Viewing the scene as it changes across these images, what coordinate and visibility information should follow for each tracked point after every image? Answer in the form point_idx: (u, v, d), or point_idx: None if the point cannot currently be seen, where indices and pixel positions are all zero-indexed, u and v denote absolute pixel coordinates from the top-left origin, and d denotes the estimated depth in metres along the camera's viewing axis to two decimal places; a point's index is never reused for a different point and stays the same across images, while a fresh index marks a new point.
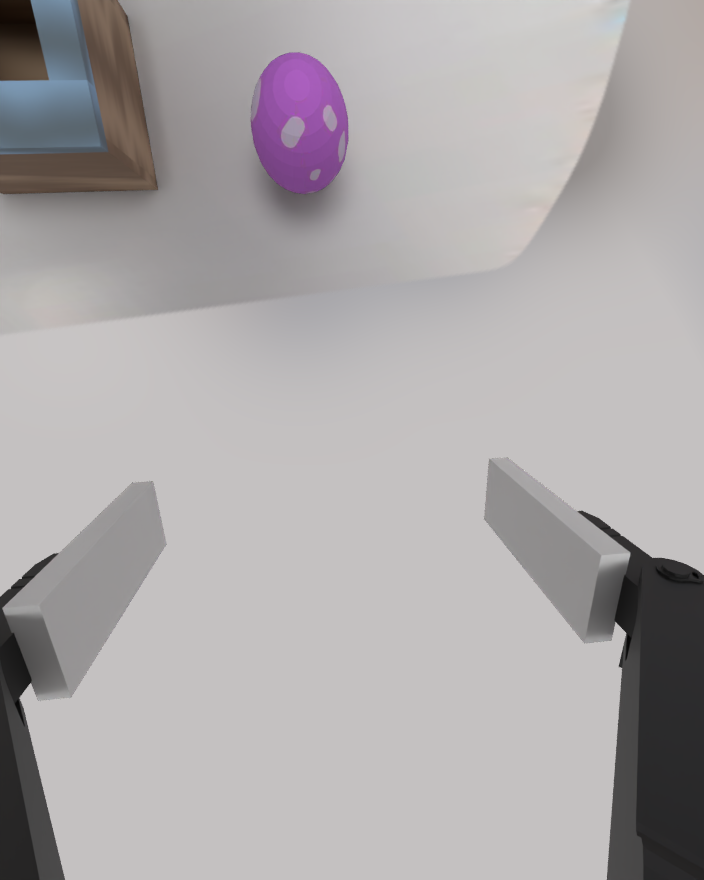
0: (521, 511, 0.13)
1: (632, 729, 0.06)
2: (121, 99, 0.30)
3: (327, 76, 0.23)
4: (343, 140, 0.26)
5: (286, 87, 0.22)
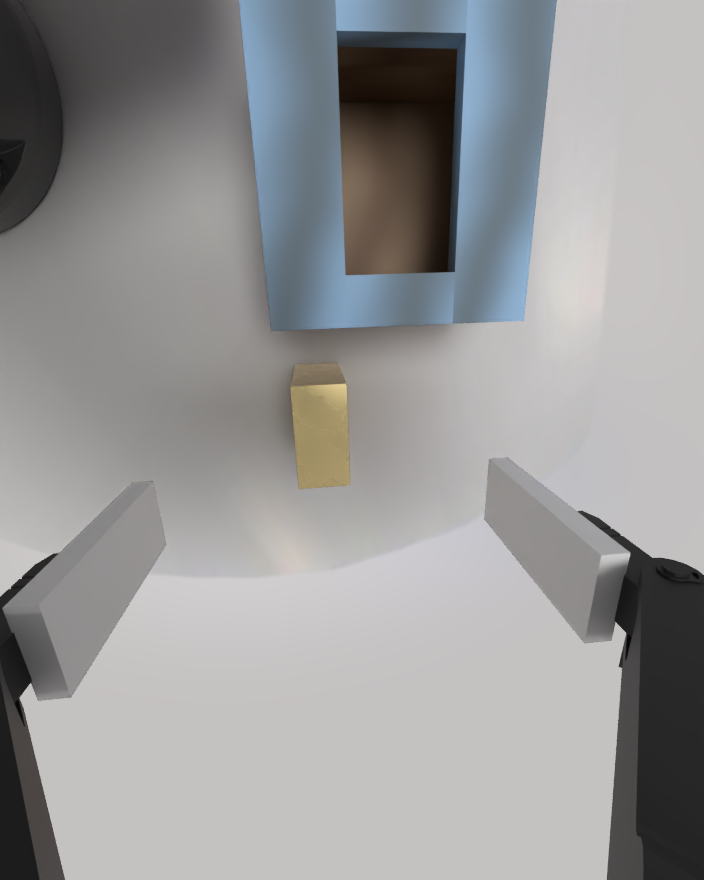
0: (521, 511, 0.13)
1: (632, 729, 0.06)
2: None
3: None
4: None
5: None
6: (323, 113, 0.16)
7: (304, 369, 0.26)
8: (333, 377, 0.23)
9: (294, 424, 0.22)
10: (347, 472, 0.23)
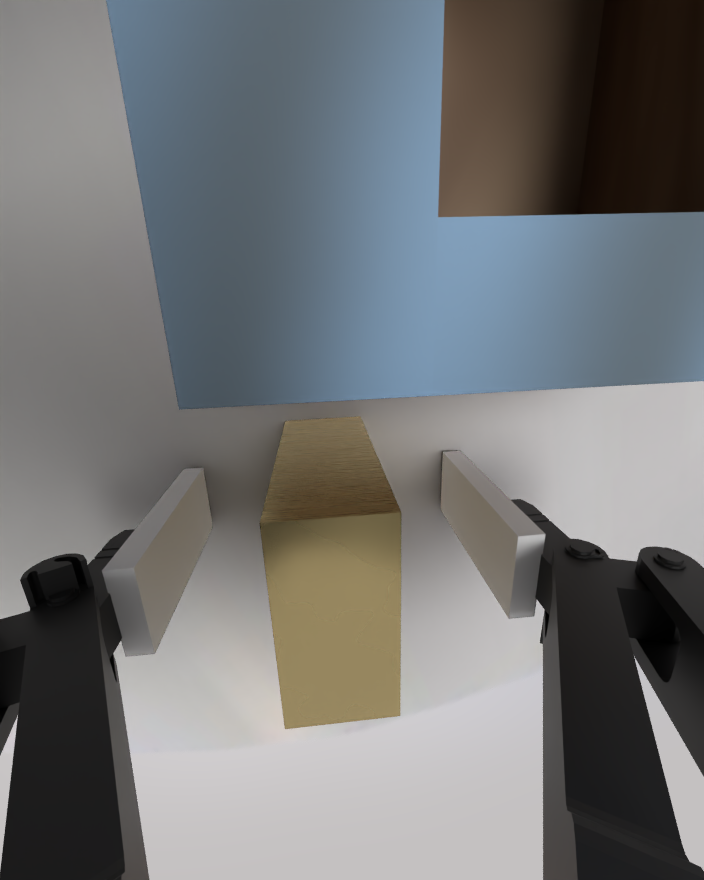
0: (465, 499, 0.14)
1: (556, 704, 0.07)
2: None
3: None
4: None
5: None
6: None
7: (300, 438, 0.14)
8: (362, 475, 0.10)
9: (272, 605, 0.09)
10: (395, 692, 0.10)
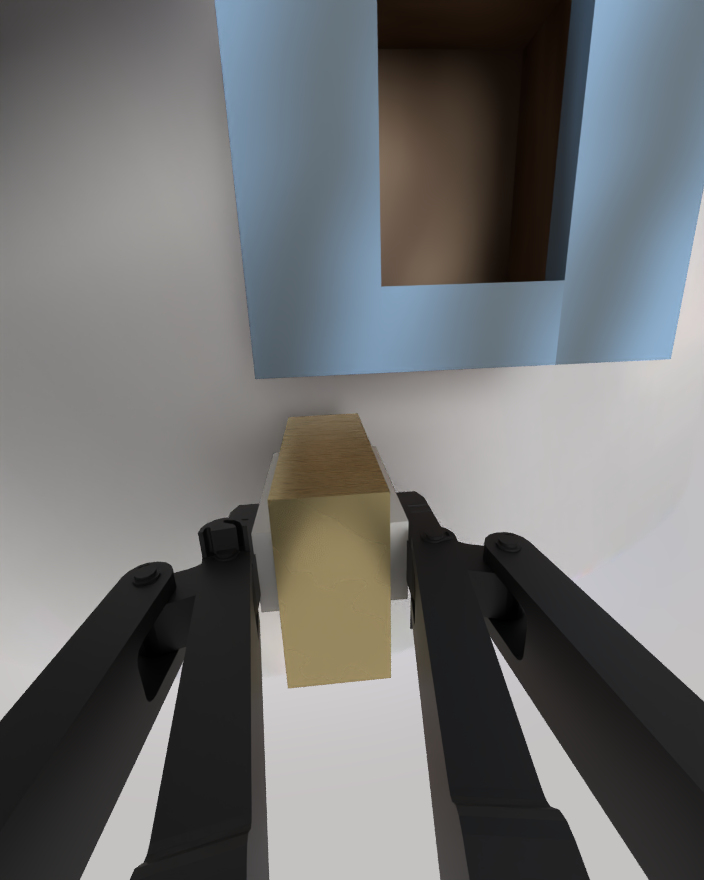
0: None
1: (430, 692, 0.07)
2: None
3: None
4: None
5: None
6: None
7: (302, 432, 0.15)
8: (358, 463, 0.12)
9: (278, 574, 0.10)
10: (386, 656, 0.11)
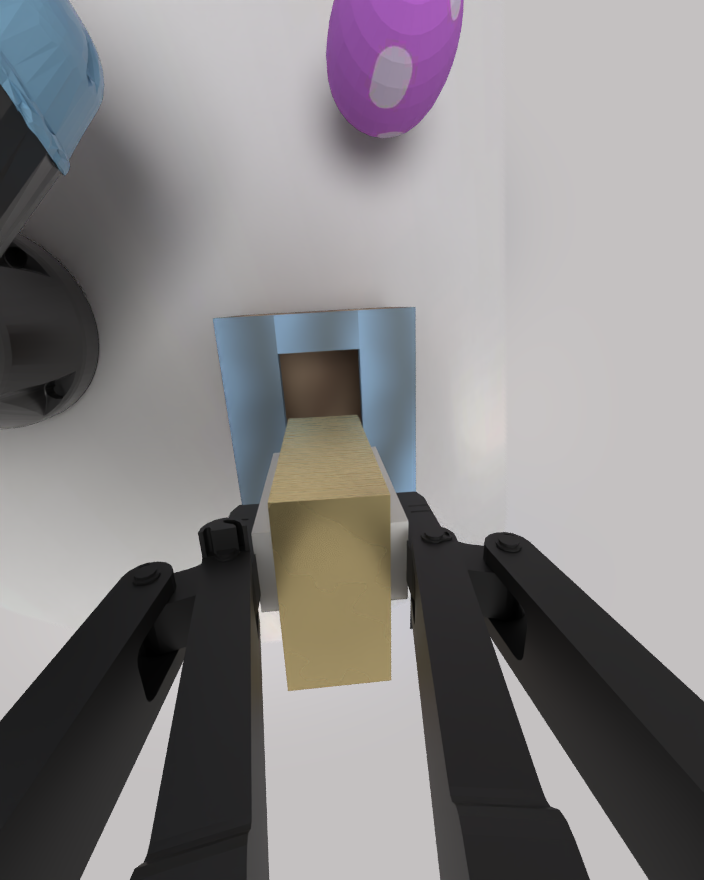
0: None
1: (430, 692, 0.07)
2: None
3: None
4: None
5: None
6: (272, 396, 0.25)
7: (302, 434, 0.15)
8: (358, 465, 0.12)
9: (278, 576, 0.10)
10: (386, 658, 0.11)
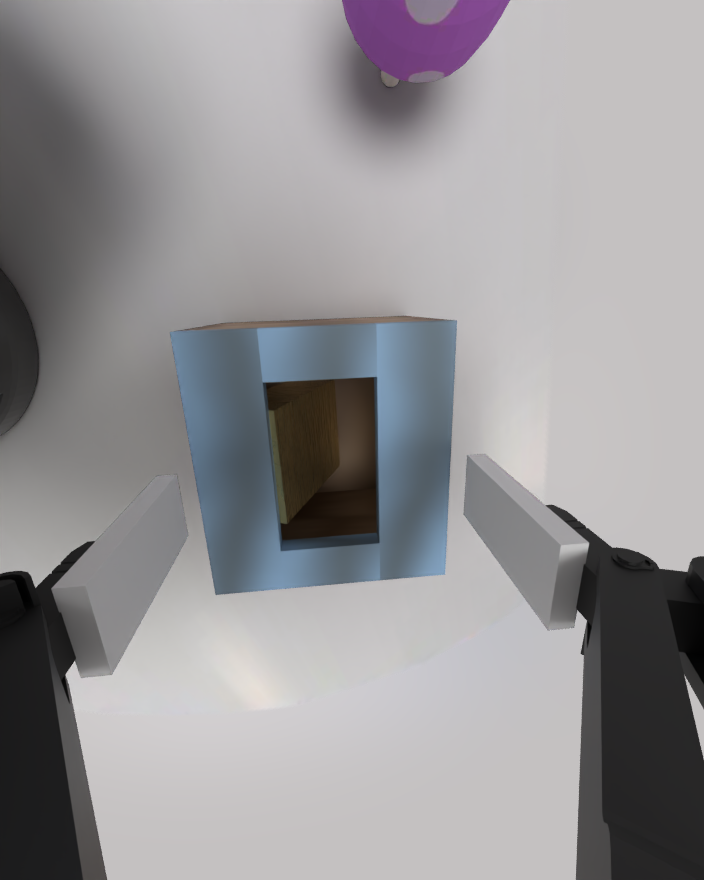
0: (494, 505, 0.14)
1: (595, 716, 0.07)
2: None
3: None
4: None
5: None
6: (254, 439, 0.18)
7: (284, 386, 0.24)
8: (283, 400, 0.21)
9: None
10: (283, 509, 0.20)
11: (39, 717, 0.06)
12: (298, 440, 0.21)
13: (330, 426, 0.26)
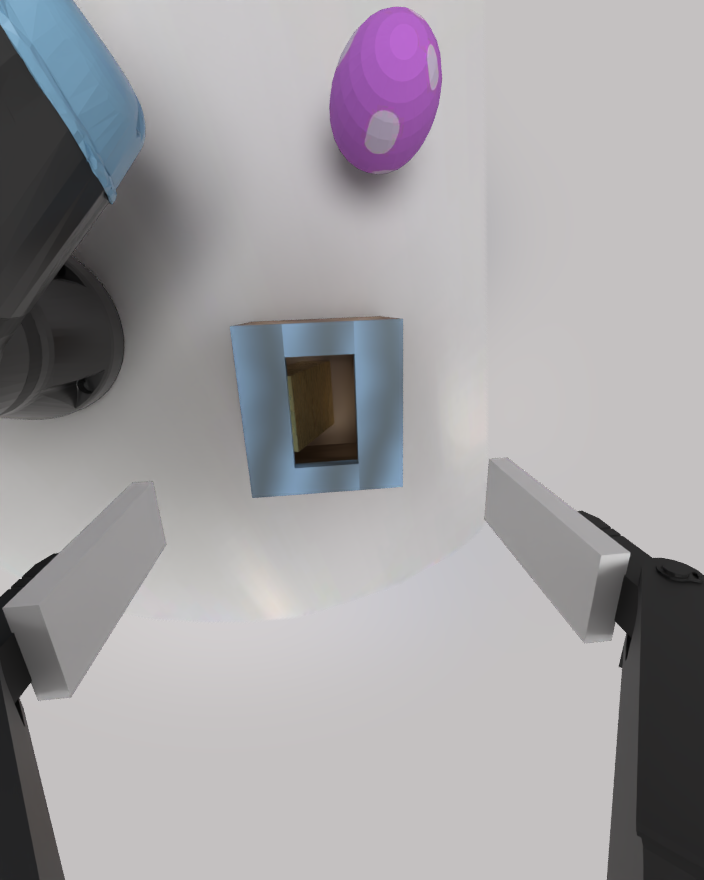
0: (521, 511, 0.13)
1: (632, 729, 0.06)
2: None
3: (379, 12, 0.20)
4: None
5: (405, 56, 0.19)
6: (279, 393, 0.29)
7: (295, 365, 0.35)
8: (296, 371, 0.32)
9: None
10: (296, 442, 0.31)
11: None
12: (305, 398, 0.32)
13: (327, 393, 0.36)
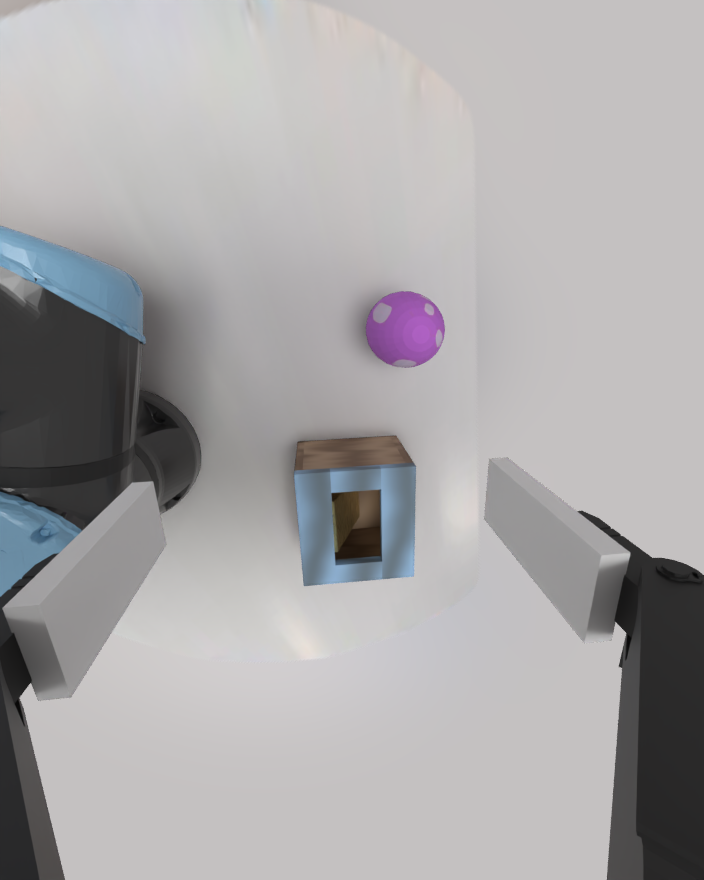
0: (521, 511, 0.13)
1: (632, 729, 0.06)
2: (362, 450, 0.44)
3: (405, 310, 0.31)
4: (424, 297, 0.34)
5: (422, 342, 0.31)
6: (326, 516, 0.40)
7: None
8: None
9: None
10: (336, 545, 0.43)
11: None
12: (342, 511, 0.44)
13: (355, 497, 0.48)
